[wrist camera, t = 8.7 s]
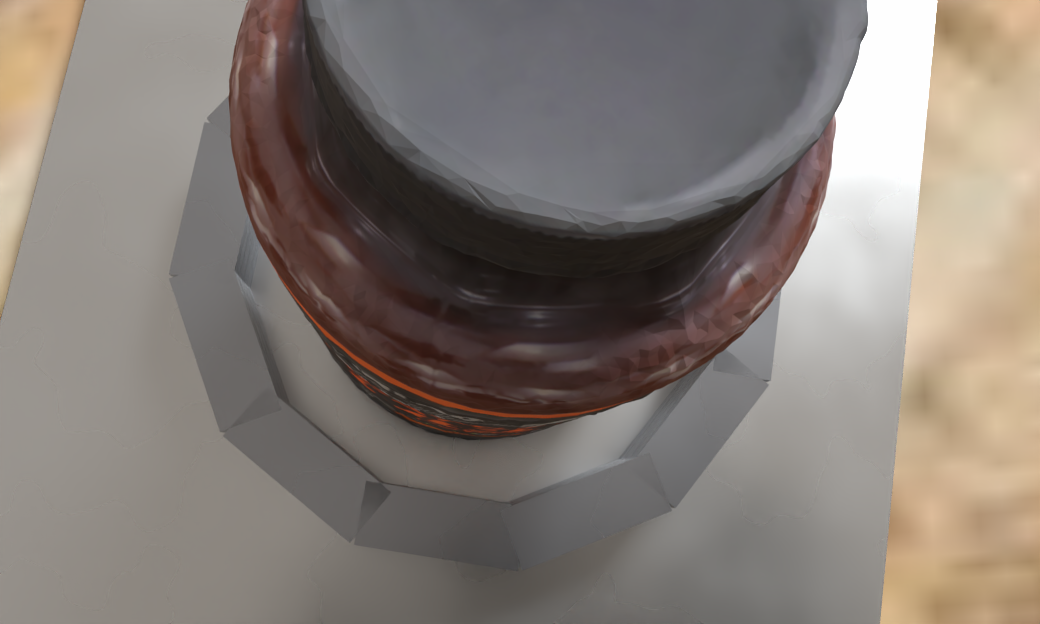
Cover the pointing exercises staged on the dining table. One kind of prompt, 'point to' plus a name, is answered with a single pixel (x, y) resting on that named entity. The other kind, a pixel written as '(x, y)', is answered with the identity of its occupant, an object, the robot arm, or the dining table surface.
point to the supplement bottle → (534, 187)
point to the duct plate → (394, 442)
